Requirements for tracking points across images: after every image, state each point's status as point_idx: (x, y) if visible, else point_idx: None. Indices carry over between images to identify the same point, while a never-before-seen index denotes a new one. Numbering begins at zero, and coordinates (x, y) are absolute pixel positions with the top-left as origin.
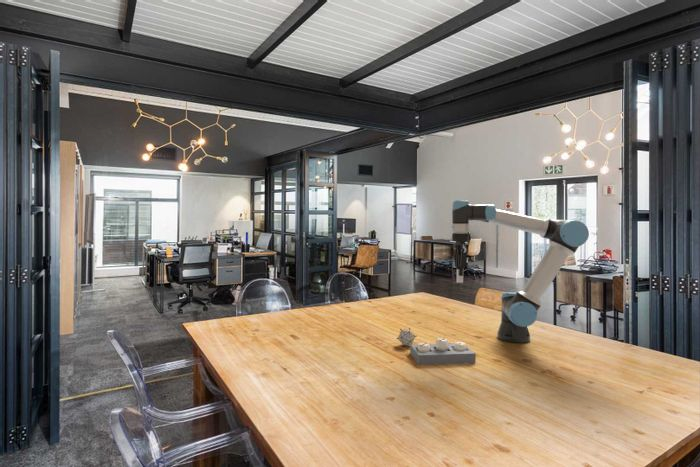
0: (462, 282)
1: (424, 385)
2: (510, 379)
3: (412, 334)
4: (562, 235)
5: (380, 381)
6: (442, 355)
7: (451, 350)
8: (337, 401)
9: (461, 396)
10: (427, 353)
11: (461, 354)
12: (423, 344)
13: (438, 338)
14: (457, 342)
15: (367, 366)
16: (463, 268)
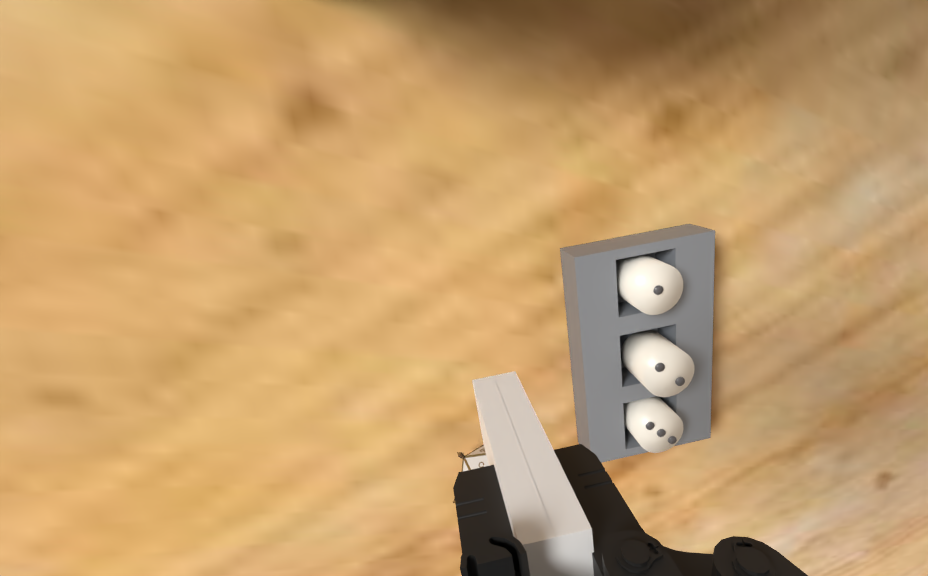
0: (516, 380)
1: (835, 407)
2: (851, 136)
3: None
4: None
5: (789, 507)
6: (709, 358)
7: (671, 322)
8: (870, 572)
9: (919, 322)
10: (696, 410)
11: (711, 288)
12: (663, 434)
13: (646, 385)
14: (641, 298)
15: (684, 547)
16: (652, 543)
